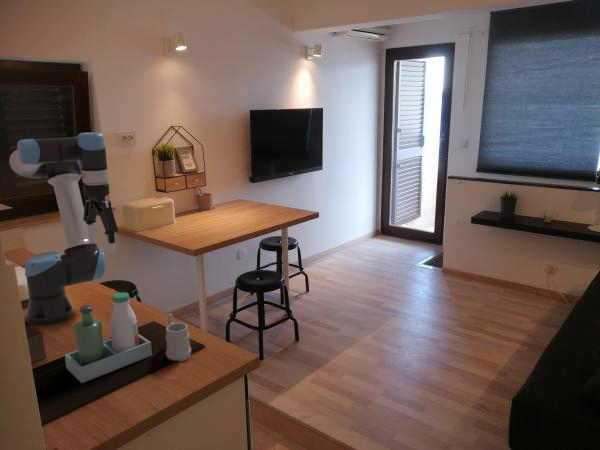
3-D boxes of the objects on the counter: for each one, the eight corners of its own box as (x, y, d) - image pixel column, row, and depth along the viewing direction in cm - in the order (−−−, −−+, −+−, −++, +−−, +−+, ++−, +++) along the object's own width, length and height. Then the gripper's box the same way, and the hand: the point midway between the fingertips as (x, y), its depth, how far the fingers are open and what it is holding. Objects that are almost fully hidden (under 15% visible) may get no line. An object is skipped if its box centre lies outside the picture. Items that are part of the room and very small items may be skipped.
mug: (171, 365, 143) (168, 328, 140) (158, 349, 152) (155, 314, 149) (195, 358, 147) (193, 322, 144) (181, 342, 157) (179, 308, 154)
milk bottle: (131, 363, 143) (125, 300, 138) (108, 360, 145) (101, 298, 140) (144, 350, 150) (139, 291, 146) (122, 348, 152) (116, 289, 147)
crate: (66, 369, 141) (64, 354, 139) (135, 344, 155) (133, 330, 154) (81, 385, 133) (79, 368, 132) (152, 356, 148) (150, 342, 146)
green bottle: (76, 368, 140) (68, 307, 136) (99, 359, 145) (93, 300, 141) (86, 377, 136) (78, 314, 131) (110, 367, 140) (103, 307, 136)
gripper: (68, 179, 155) (75, 241, 161) (100, 190, 138) (107, 259, 144) (91, 176, 160) (97, 237, 166) (125, 187, 143) (131, 254, 149)
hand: (102, 247), depth 155 cm, fingers open, 13 cm apart
